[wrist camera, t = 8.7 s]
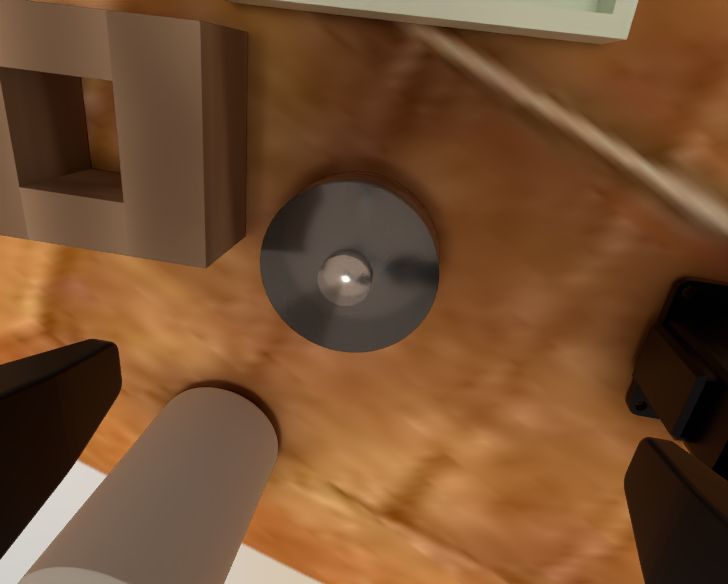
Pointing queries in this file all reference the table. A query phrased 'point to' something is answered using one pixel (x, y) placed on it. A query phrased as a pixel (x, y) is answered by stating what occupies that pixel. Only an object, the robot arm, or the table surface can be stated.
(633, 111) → the table surface
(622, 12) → the tray
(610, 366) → the table surface
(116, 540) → the beverage can
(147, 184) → the block
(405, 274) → the dark grey knobbed lid
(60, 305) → the table surface
